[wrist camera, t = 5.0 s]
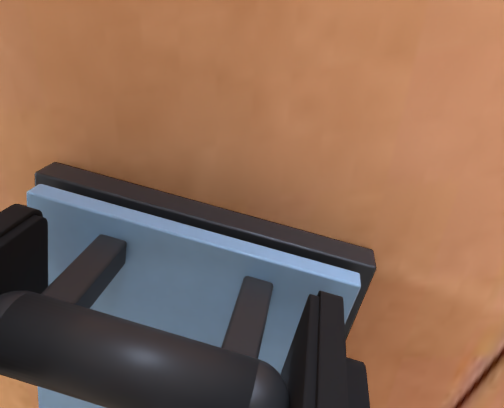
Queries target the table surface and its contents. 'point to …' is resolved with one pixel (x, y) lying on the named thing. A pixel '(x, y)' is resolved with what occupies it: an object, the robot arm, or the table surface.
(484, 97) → the table surface
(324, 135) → the table surface
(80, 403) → the handled blue panel
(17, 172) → the table surface
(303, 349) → the robot arm
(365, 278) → the dark rectangular box base
